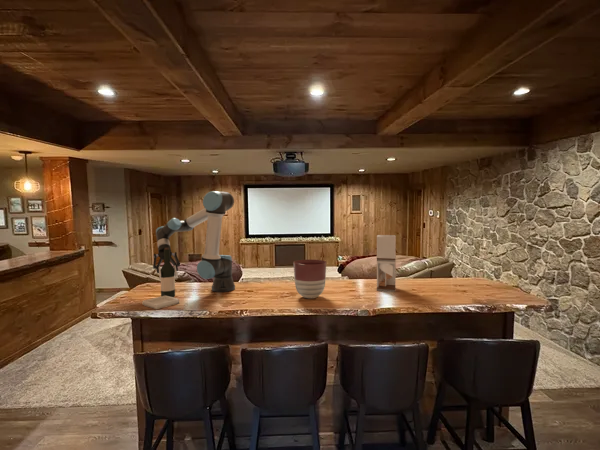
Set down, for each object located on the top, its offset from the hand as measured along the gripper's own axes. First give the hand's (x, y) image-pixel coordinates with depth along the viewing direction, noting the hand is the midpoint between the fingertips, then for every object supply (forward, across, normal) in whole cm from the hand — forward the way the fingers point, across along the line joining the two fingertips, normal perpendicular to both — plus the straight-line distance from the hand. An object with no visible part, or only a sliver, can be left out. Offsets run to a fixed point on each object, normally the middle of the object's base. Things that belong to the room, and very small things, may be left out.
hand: (168, 276), depth 202 cm
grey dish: (+18, +6, 0) cm, 19 cm away
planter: (+40, -74, +22) cm, 87 cm away
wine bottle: (+7, 0, -12) cm, 14 cm away
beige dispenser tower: (+47, -126, +28) cm, 138 cm away
